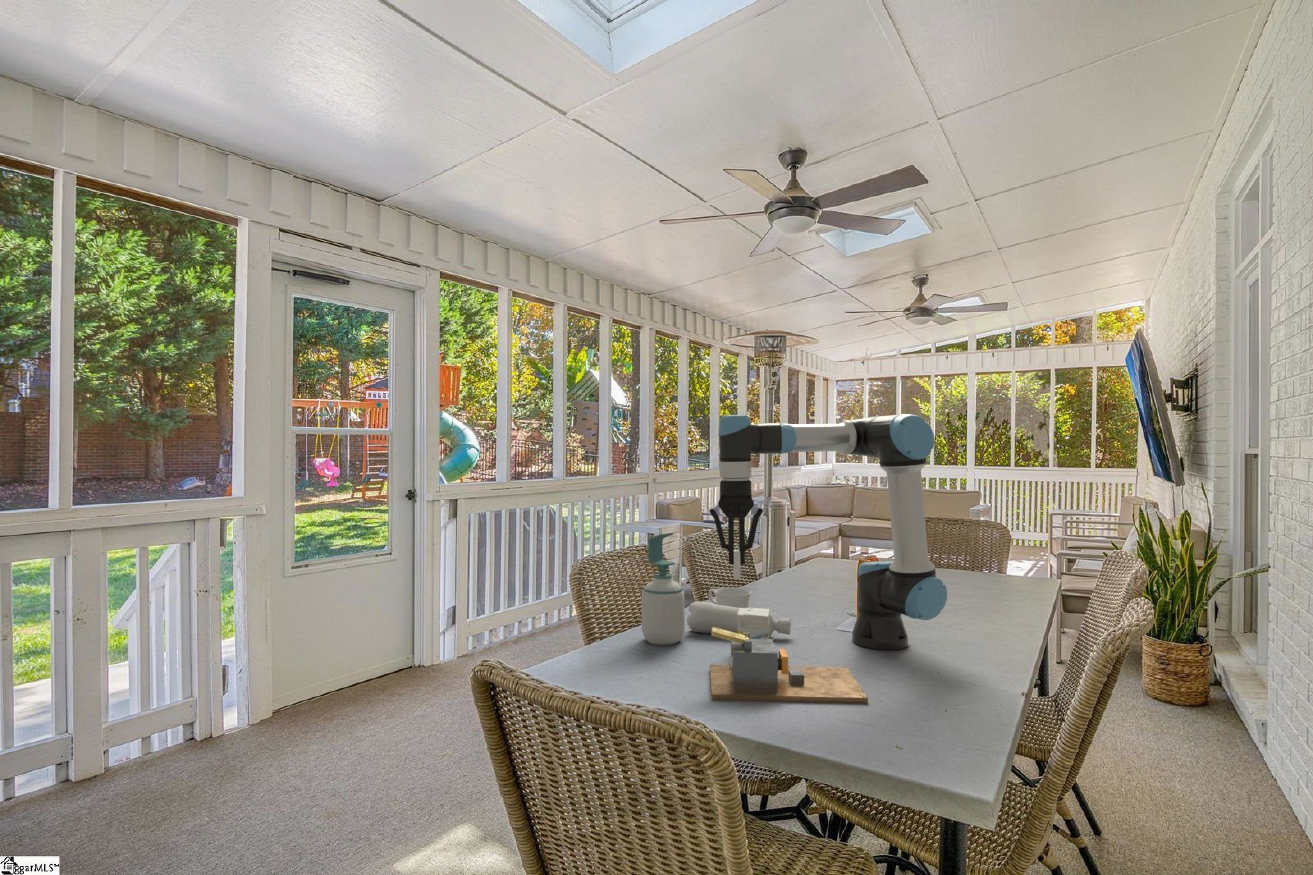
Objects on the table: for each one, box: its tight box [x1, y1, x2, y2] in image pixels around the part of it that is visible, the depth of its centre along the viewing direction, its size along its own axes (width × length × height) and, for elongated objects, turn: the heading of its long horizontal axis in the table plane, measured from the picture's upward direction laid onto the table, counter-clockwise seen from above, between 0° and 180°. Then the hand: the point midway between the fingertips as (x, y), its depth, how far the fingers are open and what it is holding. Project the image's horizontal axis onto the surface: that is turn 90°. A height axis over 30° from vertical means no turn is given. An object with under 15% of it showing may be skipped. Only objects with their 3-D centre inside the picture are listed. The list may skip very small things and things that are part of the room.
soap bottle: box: [641, 532, 686, 646], centre depth 192 cm, size 12×12×31 cm
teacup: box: [707, 586, 753, 608], centre depth 213 cm, size 12×15×10 cm
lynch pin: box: [728, 648, 789, 674], centre depth 157 cm, size 13×6×4 cm, turn 87°
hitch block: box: [709, 632, 869, 704], centre depth 157 cm, size 34×20×11 cm, turn 87°
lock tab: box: [710, 627, 749, 644], centre depth 157 cm, size 9×4×1 cm, turn 86°
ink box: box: [737, 607, 770, 639], centre depth 180 cm, size 9×8×12 cm
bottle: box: [686, 600, 792, 638], centre depth 199 cm, size 9×9×30 cm
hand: (737, 577), depth 159 cm, fingers closed
